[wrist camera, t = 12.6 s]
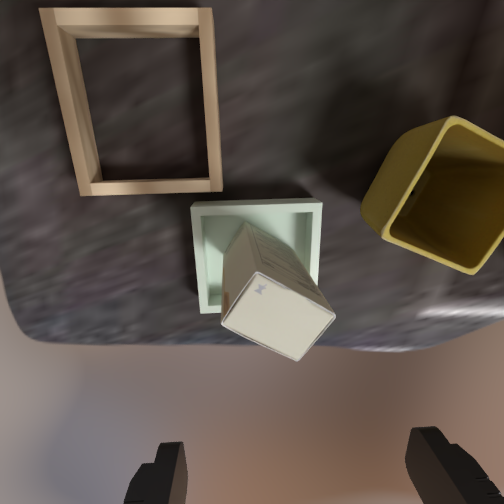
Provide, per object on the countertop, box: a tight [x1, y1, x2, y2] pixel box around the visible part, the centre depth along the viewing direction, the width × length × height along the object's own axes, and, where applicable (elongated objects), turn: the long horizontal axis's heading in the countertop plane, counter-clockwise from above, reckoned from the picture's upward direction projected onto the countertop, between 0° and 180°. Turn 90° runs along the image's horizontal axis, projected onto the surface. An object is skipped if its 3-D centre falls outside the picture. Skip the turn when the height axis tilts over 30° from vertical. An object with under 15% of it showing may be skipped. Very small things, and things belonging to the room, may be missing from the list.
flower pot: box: [360, 116, 504, 275], centre depth 24 cm, size 9×9×9 cm
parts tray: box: [190, 198, 322, 313], centre depth 28 cm, size 12×11×3 cm
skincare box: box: [221, 221, 336, 361], centre depth 23 cm, size 6×4×12 cm
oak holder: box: [39, 8, 223, 196], centre depth 23 cm, size 12×13×2 cm
